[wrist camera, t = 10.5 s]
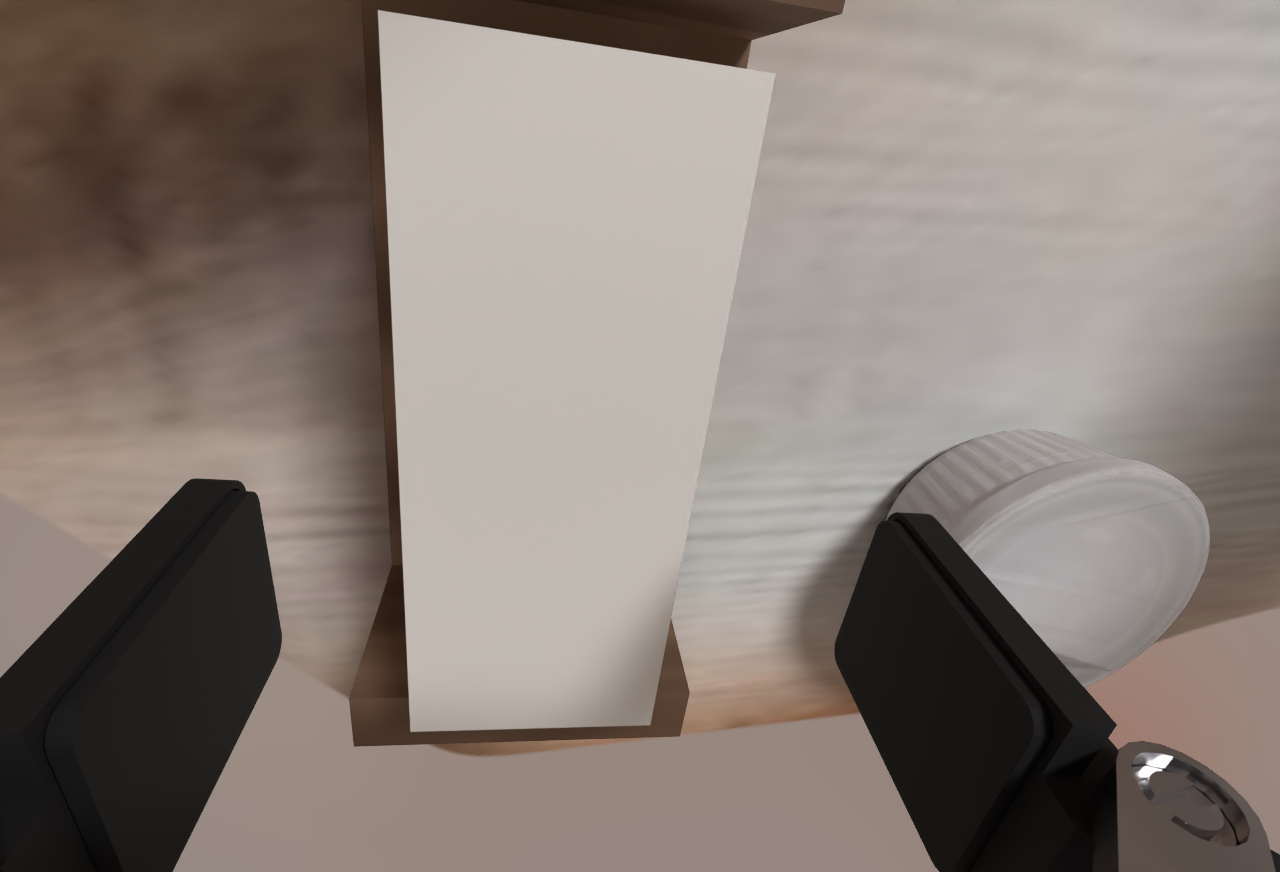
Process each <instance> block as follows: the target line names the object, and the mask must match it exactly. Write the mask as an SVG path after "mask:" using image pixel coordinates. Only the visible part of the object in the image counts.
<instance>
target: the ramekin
mask: <svg viewBox="0 0 1280 872" xmlns="http://www.w3.org/2000/svg"><path fill="white" fill-rule="evenodd" d="M896 512H901V513H922V514H930V515H932V516H933V517H935V518H936V519H937V520H938V521H939V523H940V524H941V525H942V526H943V527H944V528H945V529H946V531H947V532H948V533H949V534H950V535H951V536H952V537H953V539H954V540H955V541H956V542H957V543H958V544H959V545H960V547H961V548H962V549H963V550H964V551H965V552H966V553H967V555H968V556H969V557H970V558H971V559H972V560H973V561H974V563H975V564H976V565H977V566H978V567H979V568H980V569H981V571H982V572H983V573H984V574H985V575H986V576H987V577H988V579H989V580H990V581H991V582H992V583H993V584H994V585H995V587H996V588H997V589H998V590H999V591H1000V592H1001V593H1002V595H1003V596H1004V597H1005V598H1006V599H1007V600H1008V601H1009V602H1010V604H1011V605H1012V606H1013V607H1014V608H1015V609H1016V610H1017V612H1018V613H1019V614H1020V615H1021V616H1022V617H1023V618H1024V620H1025V621H1026V622H1027V623H1028V624H1029V625H1030V626H1031V628H1032V629H1033V630H1034V631H1035V632H1036V633H1037V634H1038V636H1039V637H1040V638H1041V639H1042V640H1043V641H1044V642H1045V644H1046V645H1047V646H1048V647H1049V648H1050V649H1051V650H1052V652H1053V653H1054V654H1055V655H1056V656H1057V657H1058V658H1059V660H1060V661H1061V662H1062V663H1063V664H1064V665H1065V666H1066V668H1067V669H1068V670H1069V671H1070V672H1071V673H1072V674H1073V675H1074V677H1075V678H1076V679H1077V680H1078V681H1079V682H1080V683H1081V685H1082V686H1083V687H1084V688H1085V687H1087V686H1089V685H1091V684H1093V683H1095V682H1097V681H1099V680H1101V679H1103V678H1105V677H1107V676H1108V675H1110V674H1112V673H1113V672H1115V671H1117V670H1118V669H1120V668H1121V667H1123V666H1124V665H1126V664H1127V663H1129V662H1130V661H1132V660H1133V659H1134V658H1136V657H1137V656H1138V655H1140V654H1141V653H1142V652H1143V651H1144V650H1146V649H1147V648H1149V646H1151V645H1152V644H1153V643H1154V642H1155V641H1156V640H1157V639H1158V638H1159V637H1160V636H1161V635H1162V634H1163V633H1164V632H1165V631H1166V630H1167V629H1168V628H1169V627H1170V626H1171V624H1172V623H1173V622H1174V621H1175V619H1176V618H1177V617H1178V616H1179V614H1180V613H1181V612H1182V610H1183V609H1184V608H1185V607H1186V605H1187V604H1188V602H1189V600H1190V599H1191V597H1192V595H1193V593H1194V592H1195V590H1196V588H1197V586H1198V584H1199V581H1200V579H1201V577H1202V574H1203V572H1204V569H1205V567H1206V562H1207V560H1208V554H1209V548H1210V529H1209V522H1208V518H1207V515H1206V512H1205V509H1204V505H1203V503H1202V502H1201V501H1200V500H1199V499H1198V497H1197V496H1196V495H1195V494H1194V493H1193V491H1192V490H1191V489H1190V488H1188V487H1187V486H1186V485H1185V484H1184V483H1182V482H1181V481H1179V480H1178V479H1176V478H1175V477H1173V476H1171V475H1170V474H1168V473H1166V472H1165V471H1163V470H1161V469H1159V468H1157V467H1155V466H1152V465H1150V464H1147V463H1144V462H1141V461H1137V460H1132V459H1125V458H1119V457H1116V456H1114V455H1111V454H1109V453H1106V452H1104V451H1101V450H1099V449H1096V448H1093V447H1091V446H1088V445H1086V444H1083V443H1081V442H1078V441H1076V440H1073V439H1071V438H1068V437H1066V436H1063V435H1058V434H1056V433H1053V432H1048V431H1039V430H1035V429H1030V430H1022V429H1018V430H1012V431H1002V432H998V433H995V434H990V435H985V436H983V437H979V438H976V439H973V440H971V441H968V442H965V443H963V444H960V445H958V446H956V447H954V448H952V449H950V450H948V451H947V452H945V453H943V454H942V455H940V456H938V457H937V458H936V459H934V460H933V461H932V462H930V463H929V464H928V465H926V466H925V467H924V468H923V469H922V470H920V471H919V472H918V473H917V474H916V475H915V476H914V477H913V478H912V479H911V480H910V481H909V482H908V484H907V485H906V486H905V487H904V489H903V490H902V491H901V492H900V494H899V495H898V497H897V498H896V500H895V502H894V504H893V505H892V507H891V509H890V511H889V513H888V516H887V518H886V521H887V519H888V517H889V516H890V515H891V514H893V513H896Z"/></svg>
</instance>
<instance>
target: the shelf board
mask: <svg viewBox="0 0 1280 872" xmlns="http://www.w3.org/2000/svg"><path fill="white" fill-rule="evenodd" d="M378 24H379V47H380V69H381V91H382V113H383V136H384V158H385V180H386V202H387V224H388V247H389V269H390V291H391V313H392V335H393V358H394V380H395V402H396V424H397V447H398V469H399V491H400V513H401V535H402V558H403V580H404V602H405V624H406V646H407V669H408V691H409V713H410V732H425V731H461V730H497V729H533V728H569V727H605V726H641V725H650V724H651V719H652V714H653V708H654V703H655V698H656V693H657V688H658V682H659V677H660V672H661V667H662V662H663V656H664V651H665V646H666V641H667V636H668V631H669V625H670V620H671V615H672V610H673V605H674V599H675V594H676V589H677V584H678V579H679V573H680V568H681V563H682V558H683V553H684V547H685V542H686V537H687V532H688V527H689V521H690V516H691V511H692V506H693V501H694V495H695V490H696V485H697V480H698V475H699V469H700V464H701V459H702V454H703V449H704V443H705V438H706V433H707V428H708V423H709V417H710V412H711V407H712V402H713V397H714V391H715V386H716V381H717V376H718V371H719V365H720V360H721V355H722V350H723V345H724V340H725V334H726V329H727V324H728V319H729V314H730V308H731V303H732V298H733V293H734V288H735V282H736V277H737V272H738V267H739V262H740V256H741V251H742V246H743V241H744V236H745V230H746V225H747V220H748V215H749V210H750V204H751V199H752V194H753V189H754V184H755V178H756V173H757V168H758V163H759V158H760V152H761V147H762V142H763V137H764V132H765V126H766V121H767V116H768V111H769V106H770V100H771V95H772V90H773V85H774V80H775V75H776V73H769V72H763V71H757V70H750V69H744V68H738V67H732V66H725V65H719V64H713V63H707V62H700V61H694V60H688V59H681V58H675V57H669V56H663V55H656V54H650V53H644V52H638V51H631V50H625V49H619V48H612V47H606V46H600V45H594V44H587V43H581V42H575V41H569V40H562V39H556V38H550V37H543V36H537V35H531V34H525V33H518V32H512V31H506V30H500V29H493V28H487V27H481V26H474V25H468V24H462V23H456V22H449V21H443V20H437V19H431V18H424V17H418V16H412V15H405V14H399V13H393V12H387V11H380V10H378Z"/></svg>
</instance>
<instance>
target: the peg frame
mask: <svg viewBox="0 0 1280 872" xmlns="http://www.w3.org/2000/svg"><path fill="white" fill-rule="evenodd" d="M844 3H845V0H362V14H363V33H364V52H365V70H366V89H367V107H368V126H369V145H370V163H371V182H372V200H373V219H374V238H375V256H376V275H377V293H378V312H379V331H380V349H381V368H382V386H383V405H384V424H385V442H386V461H387V480H388V498H389V517H390V535H391V554H392V568H391V571H390V574H389V577H388V580H387V583H386V586H385V589H384V592H383V595H382V599H381V602H380V605H379V608H378V611H377V614H376V617H375V620H374V623H373V626H372V630H371V633H370V636H369V639H368V642H367V645H366V648H365V651H364V654H363V657H362V661H361V664H360V667H359V670H358V673H357V676H356V679H355V682H354V685H353V688H352V692H351V695H350V698H349V702H350V712H351V721H352V731H353V741H354V746H379V745H380V746H381V745H415V744H447V743H480V742H512V741H545V740H577V739H610V738H642V737H674V736H680V733H681V729H682V724H683V720H684V715H685V711H686V706H687V702H688V697H689V693H690V692H689V688H688V684H687V680H686V676H685V672H684V668H683V664H682V660H681V656H680V652H679V648H678V644H677V640H676V636H675V632H674V628H673V624H672V620H670V625H669V631H668V636H667V641H666V646H665V651H664V656H663V662H662V667H661V672H660V677H659V682H658V688H657V693H656V698H655V703H654V708H653V714H652V719H651V724H650V725H641V726H605V727H569V728H533V729H497V730H461V731H425V732H410V713H409V691H408V669H407V646H406V624H405V602H404V580H403V558H402V535H401V513H400V491H399V469H398V447H397V424H396V402H395V380H394V358H393V335H392V313H391V291H390V269H389V247H388V224H387V202H386V180H385V158H384V136H383V113H382V91H381V69H380V47H379V24H378V10H380V11H387V12H393V13H399V14H405V15H412V16H418V17H424V18H431V19H437V20H443V21H449V22H456V23H462V24H468V25H474V26H481V27H487V28H493V29H500V30H506V31H512V32H518V33H525V34H531V35H537V36H543V37H550V38H556V39H562V40H569V41H575V42H581V43H587V44H594V45H600V46H606V47H612V48H619V49H625V50H631V51H638V52H644V53H650V54H656V55H663V56H669V57H675V58H681V59H688V60H694V61H700V62H707V63H713V64H719V65H725V66H732V67H738V68H744V69H746V68H747V63H748V57H749V51H750V45H751V40H754V39H757V38H760V37H764V36H767V35H771V34H774V33H777V32H781V31H784V30H788V29H791V28H794V27H798V26H801V25H805V24H808V23H812V22H815V21H818V20H822V19H825V18H829V17H832V16H835V15H839V14H842V12H843V7H844Z"/></svg>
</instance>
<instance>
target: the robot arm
mask: <svg viewBox="0 0 1280 872" xmlns="http://www.w3.org/2000/svg"><path fill="white" fill-rule="evenodd" d="M281 642H282V633H281V627H280V621H279V615H278V609H277V603H276V597H275V591H274V585H273V579H272V573H271V567H270V562H269V556H268V550H267V544H266V538H265V532H264V526H263V520H262V514H261V508H260V502H259V498H258V496H257V494H256V493H255V492H249V491H246V489H245V487H244V485H243V484H242V483H241V482H240V481H236V480H216V479H191V480H189V481H188V482H187V483H185V484H184V485H183V487H182V488H181V489H180V490H179V491H178V492H177V493H176V494H175V495H174V496H173V497H172V498H171V499H170V500H169V501H168V502H167V503H166V504H165V505H164V507H163V508H162V509H161V510H160V511H159V512H158V513H157V514H156V515H155V516H154V517H153V518H152V519H151V520H150V521H149V522H148V523H147V524H146V525H145V527H144V528H143V529H142V530H141V531H140V532H139V533H138V534H137V535H136V536H135V537H134V538H133V539H132V540H131V541H130V542H129V543H128V544H127V545H126V546H125V548H124V549H123V550H122V551H121V552H120V553H119V554H118V555H117V556H116V557H115V558H114V559H113V560H112V561H111V562H110V564H109V565H107V567H106V568H105V569H104V570H103V571H102V572H101V573H100V574H99V575H98V576H97V577H96V578H95V579H94V580H93V581H92V582H91V583H90V584H89V585H88V586H87V587H86V588H85V589H84V591H83V592H82V593H81V594H80V595H79V596H78V597H77V598H76V599H75V600H74V601H73V602H72V603H71V604H70V605H69V606H68V607H67V609H66V610H64V612H63V613H62V614H61V615H60V616H59V617H58V618H57V619H56V620H55V621H54V622H53V623H52V624H51V625H50V626H49V627H48V628H47V629H46V631H44V633H43V634H42V635H41V636H40V637H39V638H38V639H37V640H36V641H35V642H34V643H33V644H32V645H31V646H30V647H29V648H28V649H27V650H26V651H25V652H24V654H23V655H22V656H21V657H20V658H19V659H18V660H17V661H16V662H15V663H14V664H13V665H12V666H11V667H10V668H9V669H8V670H7V671H6V673H4V675H3V676H2V677H1V678H0V872H173V869H174V868H175V865H176V863H177V861H178V859H179V857H180V855H181V853H182V851H183V849H184V847H185V845H186V843H187V841H188V839H189V837H190V835H191V833H192V831H193V829H194V827H195V825H196V823H197V821H198V819H199V817H200V815H201V813H202V811H203V809H204V807H205V805H206V803H207V801H208V799H209V797H210V795H211V793H212V791H213V789H214V787H215V785H216V783H217V781H218V778H219V777H220V775H221V773H222V771H223V768H224V767H225V764H226V762H227V760H228V758H229V756H230V754H231V752H232V750H233V748H234V746H235V744H236V742H237V740H238V738H239V736H240V734H241V732H242V730H243V728H244V726H245V724H246V722H247V720H248V718H249V716H250V714H251V712H252V710H253V708H254V706H255V704H256V702H257V699H258V698H259V696H260V694H261V692H262V690H263V688H264V686H265V684H266V682H267V680H268V678H269V676H270V674H271V672H272V669H273V668H274V666H275V664H276V662H277V659H278V657H279V653H280V649H281ZM835 659H836V663H837V665H838V668H839V670H840V672H841V674H842V676H843V678H844V680H845V682H846V684H847V686H848V688H849V690H850V692H851V694H852V697H853V699H854V701H855V703H856V705H857V707H858V709H859V711H860V713H861V715H862V717H863V719H864V721H865V723H866V725H867V728H868V729H869V732H870V734H871V736H872V738H873V740H874V742H875V744H876V746H877V748H878V750H879V752H880V755H881V757H882V758H883V761H884V763H885V765H886V767H887V769H888V771H889V773H890V775H891V777H892V779H893V782H894V784H895V786H896V788H897V790H898V792H899V794H900V796H901V798H902V800H903V802H904V804H905V806H906V809H907V811H908V813H909V815H910V817H911V819H912V821H913V823H914V825H915V827H916V829H917V831H918V833H919V835H920V838H921V839H922V842H923V844H924V846H925V848H926V850H927V852H928V854H929V856H930V858H931V860H932V862H933V864H934V865H935V867H936V868H937V869H938V870H939V872H1280V855H1279V854H1278V853H1276V852H1274V851H1272V850H1270V847H1269V842H1268V839H1267V835H1266V832H1265V830H1264V828H1263V826H1262V823H1261V822H1260V819H1259V817H1258V816H1257V815H1256V813H1255V812H1254V811H1253V809H1252V808H1251V807H1250V805H1249V804H1248V803H1247V801H1246V800H1245V799H1244V798H1243V797H1242V796H1241V795H1240V794H1239V793H1238V792H1237V791H1236V790H1235V789H1234V788H1233V787H1232V786H1231V785H1230V784H1229V783H1228V782H1227V781H1225V780H1224V779H1223V778H1221V777H1220V776H1219V775H1217V774H1216V773H1214V772H1213V771H1212V770H1210V769H1209V768H1208V767H1206V766H1205V765H1203V764H1202V763H1200V762H1198V761H1196V760H1194V759H1193V758H1191V757H1189V756H1187V755H1186V754H1184V753H1182V752H1179V751H1177V750H1174V749H1171V748H1169V747H1166V746H1164V745H1161V744H1156V743H1151V742H1145V741H1139V742H1130V743H1127V744H1126V745H1125V746H1123V747H1122V748H1120V749H1119V750H1118V749H1117V748H1116V747H1115V746H1114V744H1113V743H1112V742H1111V741H1110V740H1109V739H1108V737H1109V736H1110V734H1111V733H1112V731H1113V730H1114V728H1115V727H1116V726H1117V725H1116V723H1115V722H1114V721H1113V720H1112V719H1111V718H1110V717H1109V715H1108V714H1107V713H1106V712H1105V711H1104V710H1103V709H1102V708H1101V706H1100V705H1099V704H1098V703H1097V702H1096V701H1095V699H1094V698H1093V697H1092V696H1091V695H1090V694H1089V693H1088V691H1087V690H1086V689H1085V688H1084V687H1083V686H1082V685H1081V683H1080V682H1079V681H1078V680H1077V679H1076V678H1075V677H1074V675H1073V674H1072V673H1071V672H1070V671H1069V670H1068V669H1067V668H1066V666H1065V665H1064V664H1063V663H1062V662H1061V661H1060V660H1059V658H1058V657H1057V656H1056V655H1055V654H1054V653H1053V652H1052V650H1051V649H1050V648H1049V647H1048V646H1047V645H1046V644H1045V642H1044V641H1043V640H1042V639H1041V638H1040V637H1039V636H1038V634H1037V633H1036V632H1035V631H1034V630H1033V629H1032V628H1031V626H1030V625H1029V624H1028V623H1027V622H1026V621H1025V620H1024V618H1023V617H1022V616H1021V615H1020V614H1019V613H1018V612H1017V610H1016V609H1015V608H1014V607H1013V606H1012V605H1011V604H1010V602H1009V601H1008V600H1007V599H1006V598H1005V597H1004V596H1003V595H1002V593H1001V592H1000V591H999V590H998V589H997V588H996V587H995V585H994V584H993V583H992V582H991V581H990V580H989V579H988V577H987V576H986V575H985V574H984V573H983V572H982V571H981V569H980V568H979V567H978V566H977V565H976V564H975V563H974V561H973V560H972V559H971V558H970V557H969V556H968V555H967V553H966V552H965V551H964V550H963V549H962V548H961V547H960V545H959V544H958V543H957V542H956V541H955V540H954V539H953V537H952V536H951V535H950V534H949V533H948V532H947V531H946V529H945V528H944V527H943V526H942V525H941V524H940V523H939V521H938V520H937V519H936V518H935V517H933V516H932V515H930V514H922V513H901V512H896V513H893V514H891V515H890V516H889V517H888V519H887V521H882V522H881V523H880V524H879V525H878V527H877V529H876V531H875V534H874V537H873V540H872V542H871V545H870V548H869V551H868V553H867V556H866V559H865V562H864V564H863V567H862V570H861V573H860V575H859V578H858V581H857V584H856V586H855V589H854V592H853V595H852V597H851V600H850V603H849V606H848V608H847V611H846V614H845V617H844V620H843V622H842V625H841V628H840V631H839V633H838V636H837V639H836V642H835Z"/></svg>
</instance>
